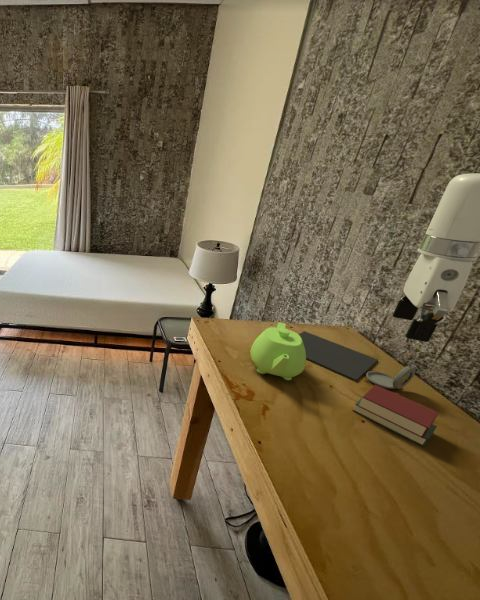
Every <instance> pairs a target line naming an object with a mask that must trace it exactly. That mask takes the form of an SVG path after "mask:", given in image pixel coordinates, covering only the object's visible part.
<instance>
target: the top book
mask: <svg viewBox="0 0 480 600" xmlns="http://www.w3.org/2000/svg"><path fill="white" fill-rule="evenodd" d="M362 397H363V398H362ZM362 397H361V398H362V400H361V402H360V405H359V407H360V408H362V409H364V410H366V411H368V412H370V413H372V414H374V415H377V416H379V417H381V418H383V419H385V420H387V421H389V422H391V423H393V424H395V425H397V426H399V427H401V428H403V429H405V430H407V431H409V432H411V433H413V434H415V435H417V436H419V437H421V438H423V437H424V436H425V434H426V433H427V431H428V430H429V428H430V427H431V425H432V424H433V423H434V422H435V420H436V419H437V417H438V416H439V414H440V412H439V411H437V410H434V409H432V408H430V407H428V406H425V405H424V404H423V405H422V404H420V403H418V402H416V401H414V400H411V399H409V398H407V397H404V396H402V395H400V394H398V393H395V392H393V391H391V390H390V389H387V388H383V387H380V386H378V385H376V384H373V386H372V387H371V388H370V389H369V390H368V391H367V392H366V393H365V394H364V395H363V396H362ZM433 425H434V424H433Z"/></svg>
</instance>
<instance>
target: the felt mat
mask: <svg viewBox="0 0 480 600" xmlns="http://www.w3.org/2000/svg"><path fill="white" fill-rule="evenodd" d="M298 335H299V336H300V337H301V339H302V341H303V344H304V347H305V352H306V361H308V362H311V363H313V364H316V365H318V366H319V367H322V368H324V369H327V370H328V371H331V372H333V373H336V374H338V375H340V376H342V377H345V379H346V378H347V379H349V380H351V381H353V382H357V381H358V380H359V379H360V378H361V377H363V375H364V374H366V373H367V372H369V370H370V369H371V368H372V367H373V366H374V365H376V363H377V362H378V361H379V359H377V358H375V357H373V356H369V355H367V354H365V353H362V352H359V351H357V350H355V349H352V348H349V347H347V346H344V345H342V344H339V343H337V342H333V341H332V340H328V339H326V338H323V337H321V336H318V335H316V334H313V333H310V332H308V331H306V330H304V331H302V332H300V333H298Z"/></svg>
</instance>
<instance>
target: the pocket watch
mask: <svg viewBox="0 0 480 600" xmlns="http://www.w3.org/2000/svg"><path fill="white" fill-rule="evenodd" d="M417 361H418V359H417V358H414V359H412V360H409V362H408V363H407V364H408V365H405V366H404V367H403V368H401V369H400V371H399V372H397V374H396V375H395V377H393V376H391V375H390V374H387V373H384V372H381V371H376V370H374V371H373V370H370V371H367V372H366V373H365V374H366V375H365V377H366V378H367V380H368V381H369V382H370V383H372V384H373V385H377V386H379V387H382V388H384V389H386V390H395V389H398V390H401V389H402V388H404V387H405V386H407V385H408V384H409V383H410V382H411V380H412V379H413V378H414V376H415V374H416V371H417V369H416V367H414V366H413V365H414V363H415V362H417Z"/></svg>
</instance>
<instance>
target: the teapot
mask: <svg viewBox="0 0 480 600" xmlns="http://www.w3.org/2000/svg"><path fill="white" fill-rule="evenodd" d="M286 326H287V324H286V323H285V322H280V321H279V322H277V325H276V326H269V327H267V328H266V329H264V330H263V331H262V332H261V333H260V334H259V335H258V336H257V337H256V338H255V340H254V341H253V343H252V345H251V347H250V351H249V355H250V358H251V360H252V363H253V364H254V366H255V367H256V372H257V373H259V374H261V375H265V374H271V375H273V376H278V377H281V378H282V379H284V380H286V381H292V380H293V378H294V377H296V376H299V375H301V374H302V372H304V370H305V368H306V363H307V360H306V352H305V347H304V344H303V341H302V339H301V337H300V336H299V333H297V332H296V331H294V330H290V329H288V328H286Z"/></svg>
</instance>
